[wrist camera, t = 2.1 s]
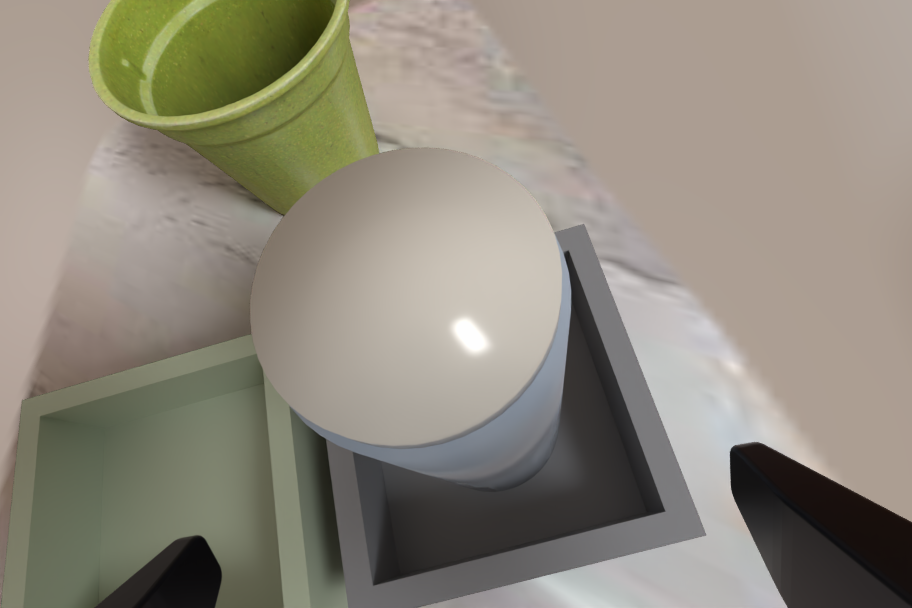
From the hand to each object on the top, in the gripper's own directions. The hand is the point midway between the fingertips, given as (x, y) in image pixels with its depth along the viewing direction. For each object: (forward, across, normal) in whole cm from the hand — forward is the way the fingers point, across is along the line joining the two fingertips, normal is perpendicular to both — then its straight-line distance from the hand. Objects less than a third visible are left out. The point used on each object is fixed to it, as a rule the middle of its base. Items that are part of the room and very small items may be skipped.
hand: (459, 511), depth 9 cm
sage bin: (+9, +11, +6) cm, 15 cm away
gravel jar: (+9, 0, +5) cm, 11 cm away
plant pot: (+19, +6, -4) cm, 21 cm away
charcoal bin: (+10, 0, +5) cm, 11 cm away
